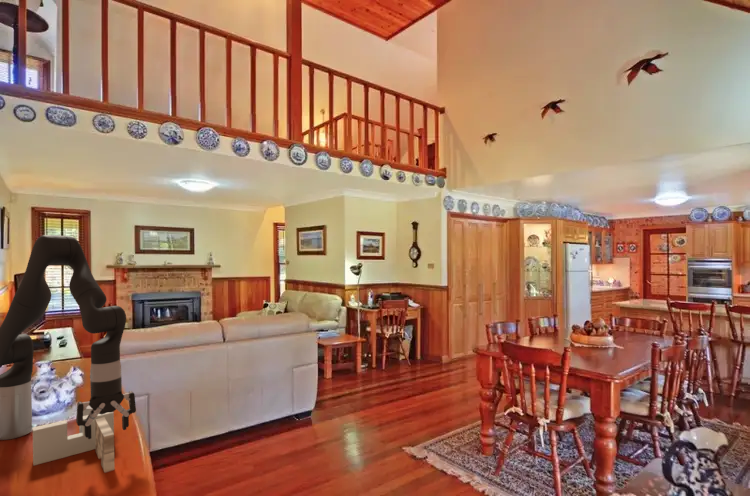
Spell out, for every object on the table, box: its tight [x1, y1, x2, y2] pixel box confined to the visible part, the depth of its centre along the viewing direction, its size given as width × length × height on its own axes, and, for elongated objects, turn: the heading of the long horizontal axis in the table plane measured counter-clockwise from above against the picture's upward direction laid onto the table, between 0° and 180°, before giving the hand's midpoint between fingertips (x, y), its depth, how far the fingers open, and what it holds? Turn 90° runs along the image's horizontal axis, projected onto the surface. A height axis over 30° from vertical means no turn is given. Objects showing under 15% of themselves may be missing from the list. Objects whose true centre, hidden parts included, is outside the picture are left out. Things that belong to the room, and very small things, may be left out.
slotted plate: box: [95, 417, 116, 474], centre depth 124 cm, size 16×2×10 cm, turn 41°
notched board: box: [32, 411, 115, 466], centre depth 130 cm, size 20×3×10 cm, turn 131°
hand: (107, 433), depth 121 cm, fingers open, 8 cm apart
